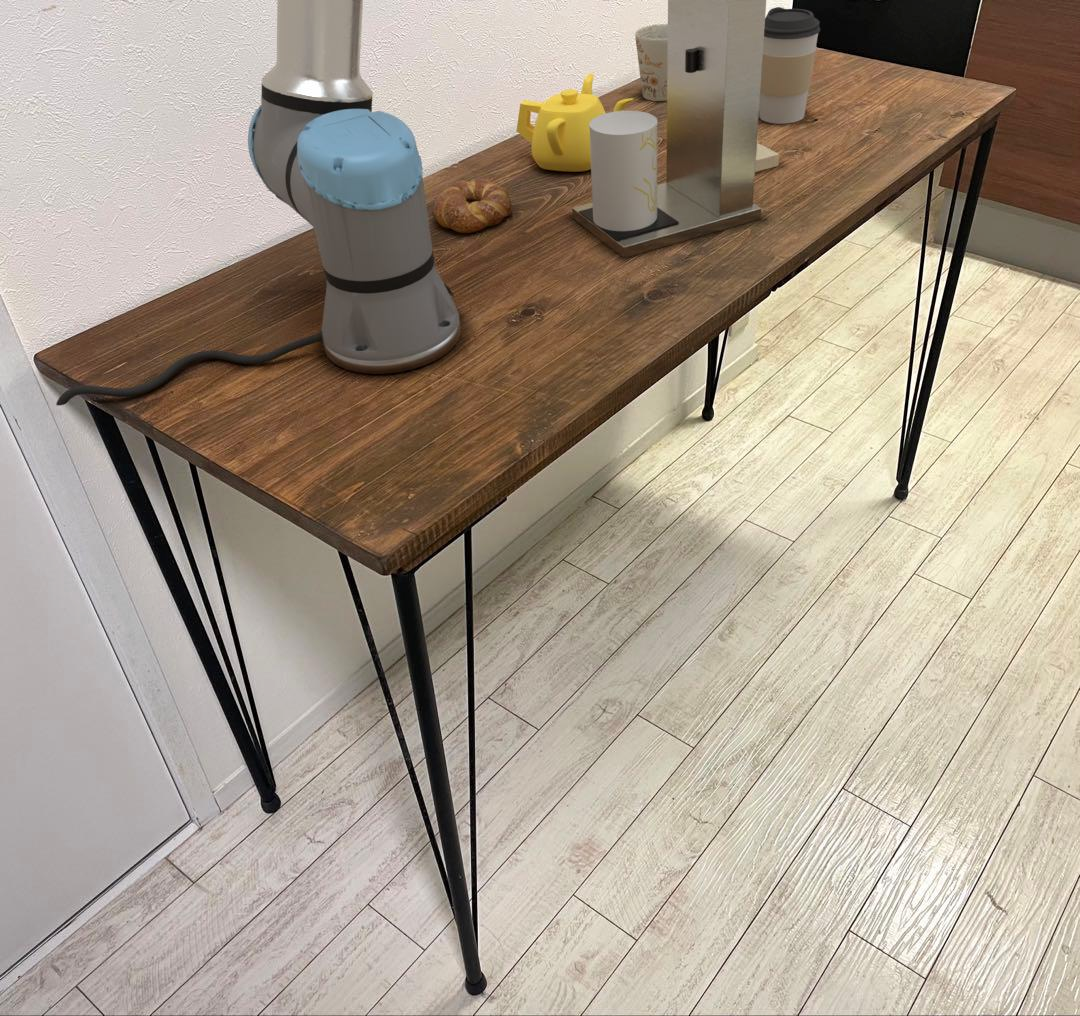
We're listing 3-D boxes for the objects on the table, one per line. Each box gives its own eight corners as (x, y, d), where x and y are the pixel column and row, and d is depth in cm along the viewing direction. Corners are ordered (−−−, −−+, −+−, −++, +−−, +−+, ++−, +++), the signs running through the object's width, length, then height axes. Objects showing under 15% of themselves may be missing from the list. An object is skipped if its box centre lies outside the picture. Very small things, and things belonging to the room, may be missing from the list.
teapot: (635, 165, 147) (634, 94, 141) (550, 185, 144) (546, 114, 137) (594, 136, 157) (591, 69, 151) (513, 154, 154) (507, 86, 147)
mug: (631, 90, 172) (631, 27, 166) (704, 82, 173) (707, 19, 166) (640, 106, 166) (640, 41, 160) (716, 98, 166) (719, 33, 160)
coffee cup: (824, 115, 157) (835, 10, 147) (781, 130, 153) (789, 24, 144) (782, 101, 163) (790, 0, 153) (739, 116, 159) (745, 12, 150)
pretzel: (500, 237, 132) (498, 210, 129) (420, 235, 134) (416, 208, 132) (522, 199, 141) (520, 173, 138) (447, 197, 143) (443, 171, 140)
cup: (653, 231, 126) (653, 134, 118) (588, 230, 128) (584, 134, 120) (660, 204, 132) (661, 110, 124) (598, 203, 134) (595, 110, 126)
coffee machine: (623, 258, 125) (619, 0, 106) (572, 218, 135) (559, -24, 116) (760, 219, 131) (778, -32, 112) (701, 183, 141) (709, -53, 122)
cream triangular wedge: (718, 182, 140) (719, 157, 138) (687, 164, 146) (687, 139, 144) (778, 165, 143) (780, 141, 141) (746, 148, 149) (747, 124, 147)
